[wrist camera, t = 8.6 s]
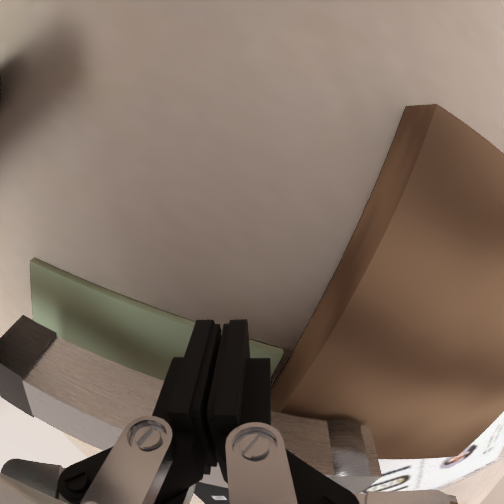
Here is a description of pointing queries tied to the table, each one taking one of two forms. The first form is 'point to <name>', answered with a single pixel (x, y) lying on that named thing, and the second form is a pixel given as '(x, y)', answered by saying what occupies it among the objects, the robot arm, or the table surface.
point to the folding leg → (150, 405)
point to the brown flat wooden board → (365, 304)
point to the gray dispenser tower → (452, 499)
